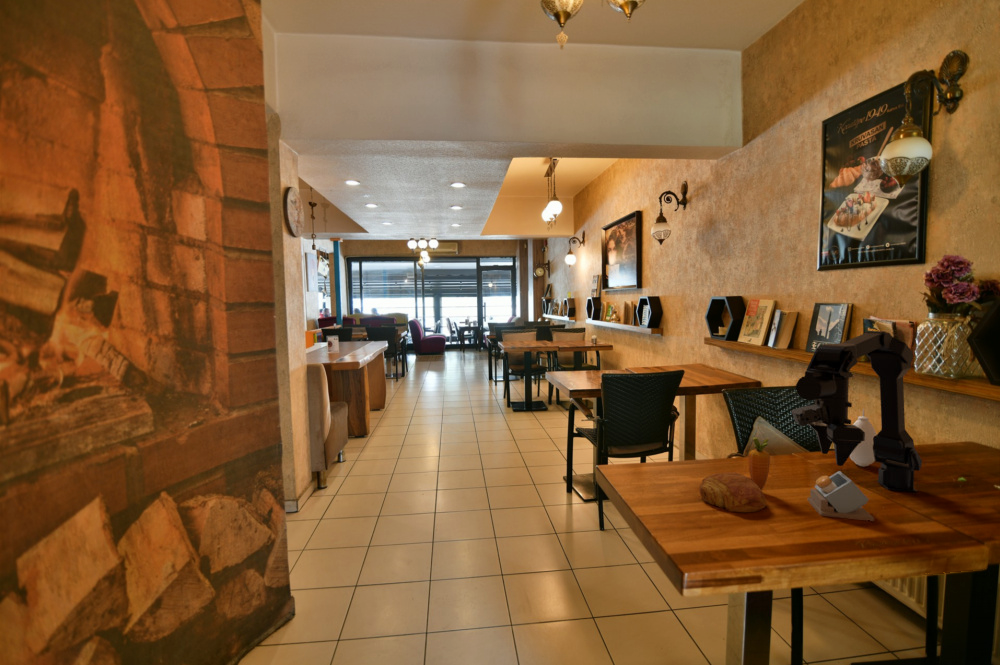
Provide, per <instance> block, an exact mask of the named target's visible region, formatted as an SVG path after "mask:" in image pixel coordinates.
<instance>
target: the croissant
mask: <svg viewBox="0 0 1000 665" xmlns="http://www.w3.org/2000/svg"><path fill="white" fill-rule="evenodd" d="M699 494H700V496H701V498H702V499H703V501H704V502H706V503H708V504H710V505H713V506H716V507H718V508H721V509H722V508H723V509H724V510H725V511H728V512H732V513H733V512H734V513H754V512H758V511H760V510H762V509H764V508H766V506H767V504H768V503H767V499H766V496H765V494H764V492H763V489H762V490H761V489H760V488H759V487H758V486H757V485H756V484H755V483H754V482H753V480H752V479H751V477H748V476H746V475H744V474H742V473H738V472H722V473H715V474H711V475H708V476H705V478H703V479H702V481H701V483H700V485H699Z"/></svg>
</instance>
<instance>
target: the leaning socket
mask: <svg viewBox="0 0 1000 665" xmlns="http://www.w3.org/2000/svg"><path fill="white" fill-rule="evenodd" d="M828 477H829V478H830V479H831V480H832V481H833V482H834V483H835V485H836V486H837V487H838V488H836V489H834V490H833V491H831V492H829V493H828V494H826V493H825V492H824V491H823V490H822V489H821V488H820V487H819V486H818V485H817V484H815V485H814V488H810V494H809V497H807V501H809V502H808V503H809V504H810V505H811V506H812V508H814V510H815V511H816V512H817V513H818V515H820V516H822V517H829V518H830V517H832V518H839V519H840V518H841V519H848V520H849V519H850V520H857V521H858V520H860V521H868V520H870V522H874V521H875V518H874V516H873V515H871V514H870V513H869V512H868V511H867V510H866V509H865V508H864V507H863V506H864V505H866V504H868V502H869V501H870V499H869V498H868V497H867V496H866V495H865V493H863V491H862V490H861V489H860V488H859V487H858V486H857V485H856V484H855V483H854V481H853V480H851V479H850V478H849V477H848V476H847V475H845V474H844V473H842V471H840V470H839V471H837V472H835V473H833V474H831V475H830V476H828Z"/></svg>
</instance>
